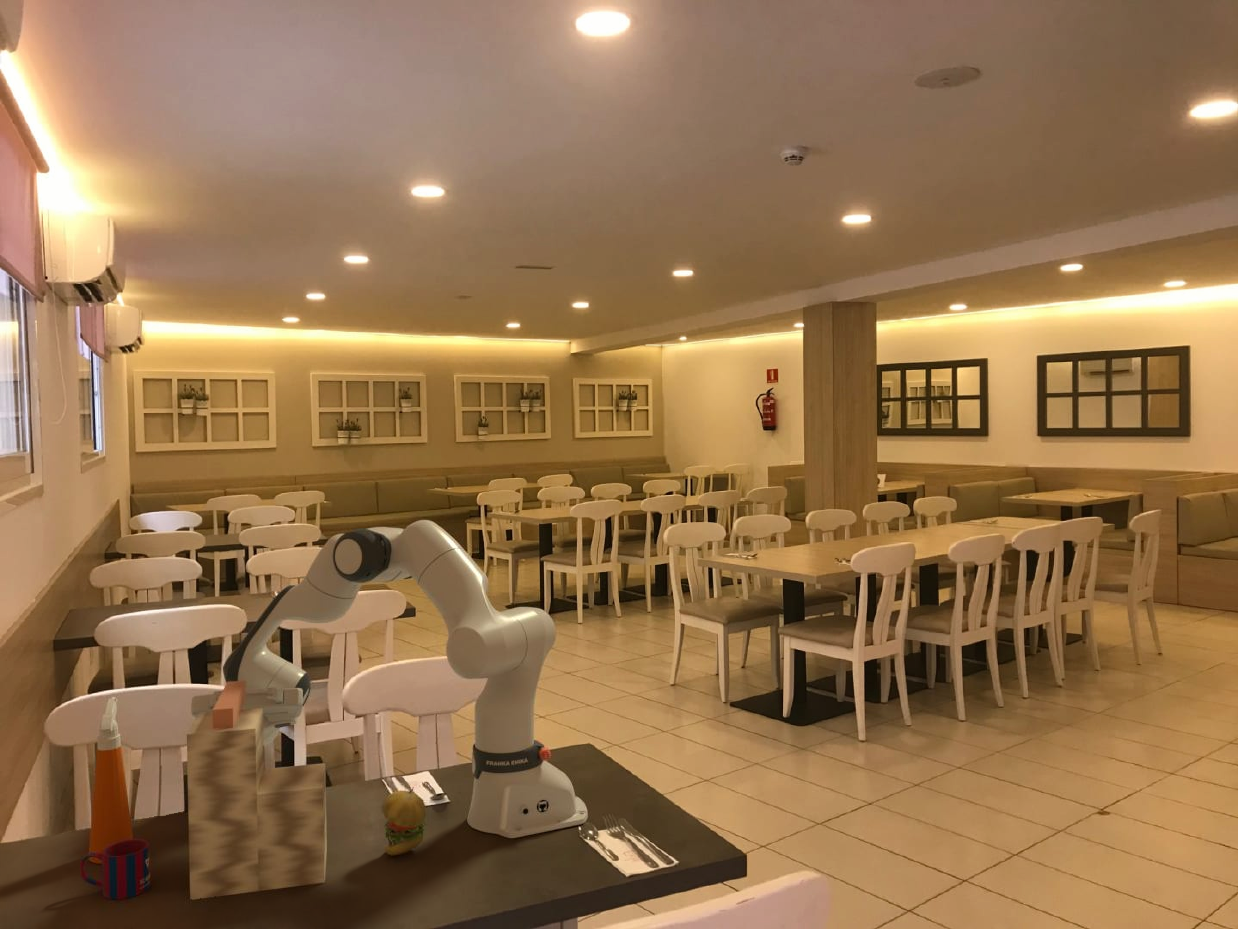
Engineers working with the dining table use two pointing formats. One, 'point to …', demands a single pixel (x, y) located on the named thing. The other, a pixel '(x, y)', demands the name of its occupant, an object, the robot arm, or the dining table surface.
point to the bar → (229, 704)
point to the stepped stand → (250, 813)
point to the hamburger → (403, 821)
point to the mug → (122, 869)
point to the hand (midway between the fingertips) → (244, 693)
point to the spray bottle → (109, 788)
